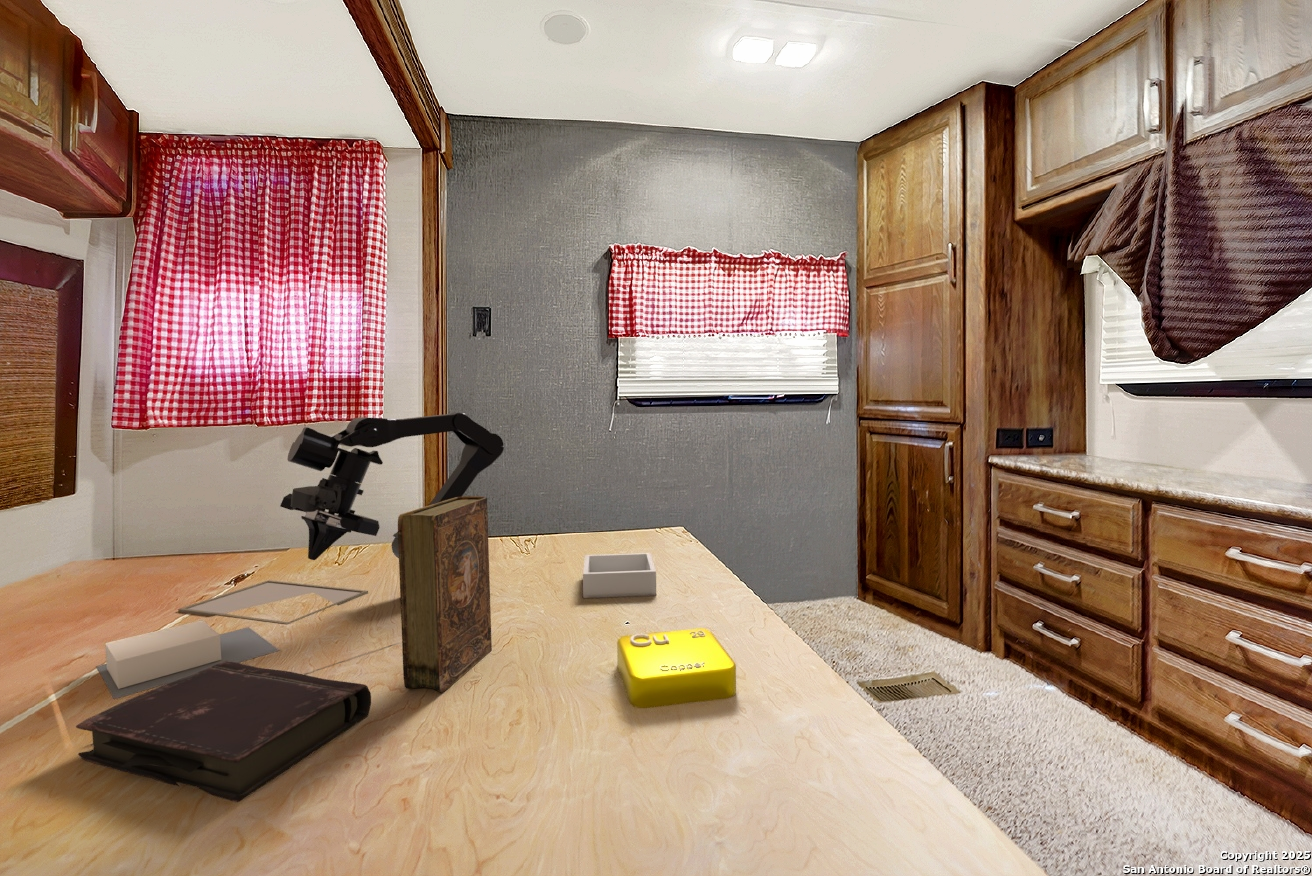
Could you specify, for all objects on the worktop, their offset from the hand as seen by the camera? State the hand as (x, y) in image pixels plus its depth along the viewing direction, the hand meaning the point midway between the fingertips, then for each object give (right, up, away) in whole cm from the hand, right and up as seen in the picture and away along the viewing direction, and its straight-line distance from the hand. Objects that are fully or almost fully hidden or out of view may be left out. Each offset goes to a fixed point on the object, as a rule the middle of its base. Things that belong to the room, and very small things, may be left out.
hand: (311, 559), depth 108 cm
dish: (+55, -10, +20) cm, 60 cm away
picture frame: (-14, -12, +12) cm, 22 cm away
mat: (-10, -13, -15) cm, 22 cm away
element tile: (+66, -13, -23) cm, 71 cm away
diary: (+12, -15, -37) cm, 41 cm away
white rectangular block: (-8, -10, -13) cm, 19 cm away
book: (+33, -13, -19) cm, 40 cm away
